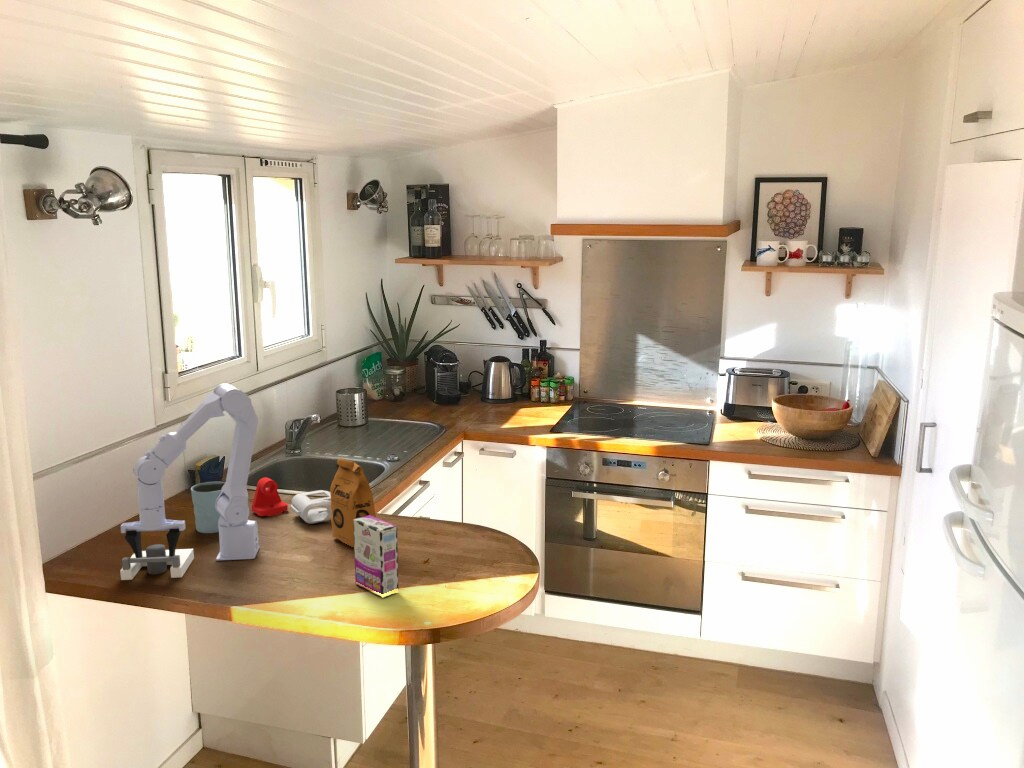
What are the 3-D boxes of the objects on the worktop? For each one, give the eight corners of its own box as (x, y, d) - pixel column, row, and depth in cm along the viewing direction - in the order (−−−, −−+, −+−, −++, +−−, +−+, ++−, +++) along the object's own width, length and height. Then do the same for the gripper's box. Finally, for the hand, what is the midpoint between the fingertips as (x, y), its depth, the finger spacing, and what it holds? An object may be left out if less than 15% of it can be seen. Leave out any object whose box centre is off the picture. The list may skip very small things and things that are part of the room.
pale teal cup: (186, 531, 235) (182, 490, 232) (209, 519, 244) (207, 479, 242) (216, 535, 231) (213, 493, 229) (239, 523, 241) (237, 483, 239)
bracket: (261, 518, 245) (259, 485, 243) (251, 513, 250) (249, 480, 248) (289, 511, 251) (287, 479, 249) (279, 506, 255) (277, 474, 253)
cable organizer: (343, 499, 242) (328, 488, 252) (300, 506, 235) (287, 495, 245) (344, 522, 243) (329, 509, 253) (301, 529, 236) (288, 516, 246)
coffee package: (348, 552, 220) (344, 471, 216) (327, 538, 230) (324, 460, 226) (382, 543, 226) (379, 464, 222) (360, 530, 236) (358, 454, 232)
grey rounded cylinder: (163, 574, 206) (161, 550, 205) (145, 574, 206) (143, 551, 205) (169, 566, 211) (167, 544, 210) (151, 567, 210) (149, 544, 209)
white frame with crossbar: (194, 557, 216) (192, 538, 215) (181, 577, 205) (180, 557, 204) (136, 560, 215) (135, 541, 214) (121, 580, 203) (119, 560, 202)
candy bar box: (400, 592, 196) (398, 525, 193) (382, 599, 193) (380, 531, 190) (371, 578, 204) (369, 513, 201) (354, 584, 201) (352, 518, 198)
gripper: (186, 499, 210) (190, 551, 212) (125, 501, 208) (130, 553, 211) (179, 508, 203) (183, 562, 205) (115, 511, 201) (120, 565, 204)
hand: (156, 558), depth 208 cm, fingers open, 7 cm apart
